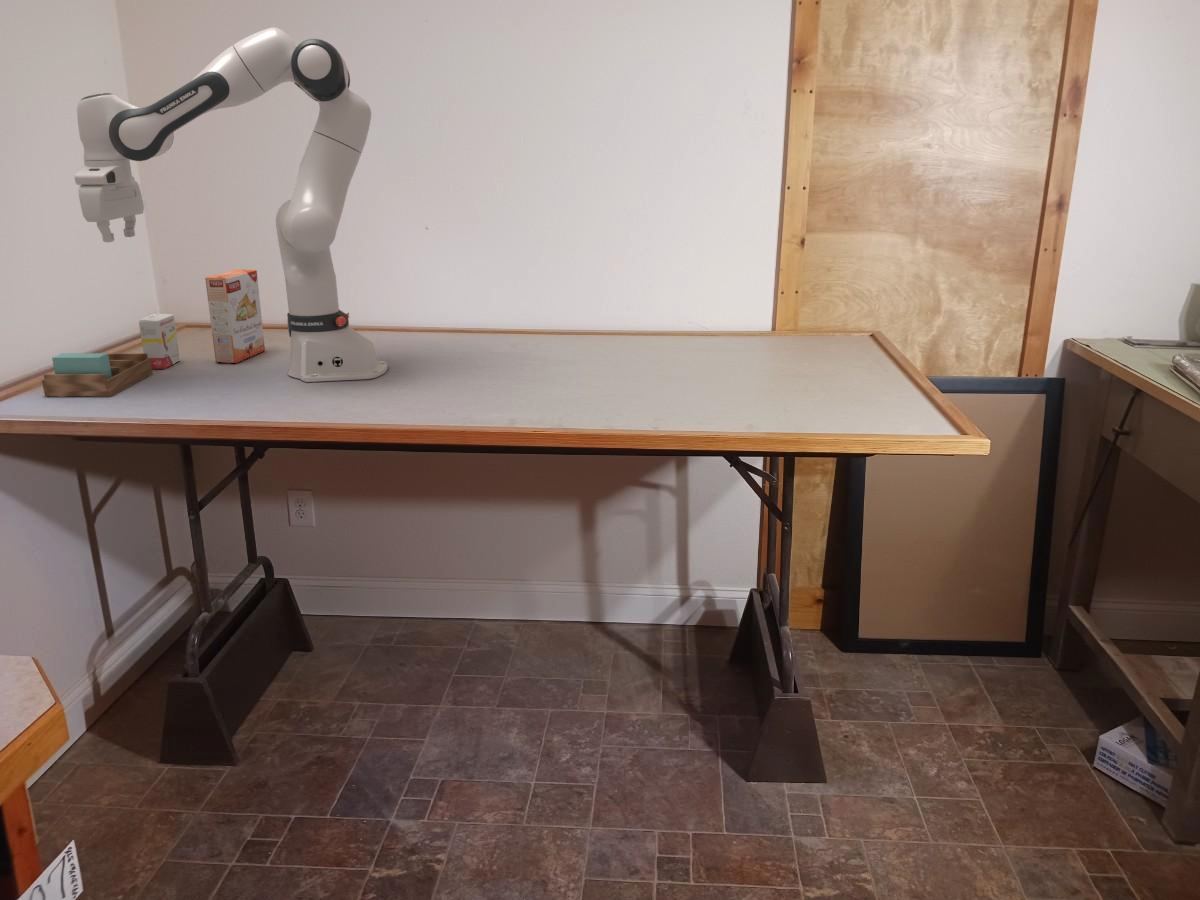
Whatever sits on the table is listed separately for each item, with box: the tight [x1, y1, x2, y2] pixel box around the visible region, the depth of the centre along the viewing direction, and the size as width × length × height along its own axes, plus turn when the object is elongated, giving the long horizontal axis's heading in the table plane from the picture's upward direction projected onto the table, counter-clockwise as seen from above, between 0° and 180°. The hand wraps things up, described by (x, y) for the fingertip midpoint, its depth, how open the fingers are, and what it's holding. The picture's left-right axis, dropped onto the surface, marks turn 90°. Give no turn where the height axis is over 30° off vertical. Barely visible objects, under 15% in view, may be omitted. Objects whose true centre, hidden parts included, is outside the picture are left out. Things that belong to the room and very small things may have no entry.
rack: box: [41, 352, 154, 398], centre depth 216 cm, size 14×20×5 cm
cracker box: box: [204, 268, 266, 364], centre depth 238 cm, size 14×6×21 cm, turn 168°
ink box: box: [138, 313, 181, 370], centre depth 232 cm, size 9×5×12 cm, turn 177°
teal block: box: [51, 352, 112, 380], centre depth 210 cm, size 4×10×7 cm, turn 89°
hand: (119, 239), depth 214 cm, fingers open, 8 cm apart
